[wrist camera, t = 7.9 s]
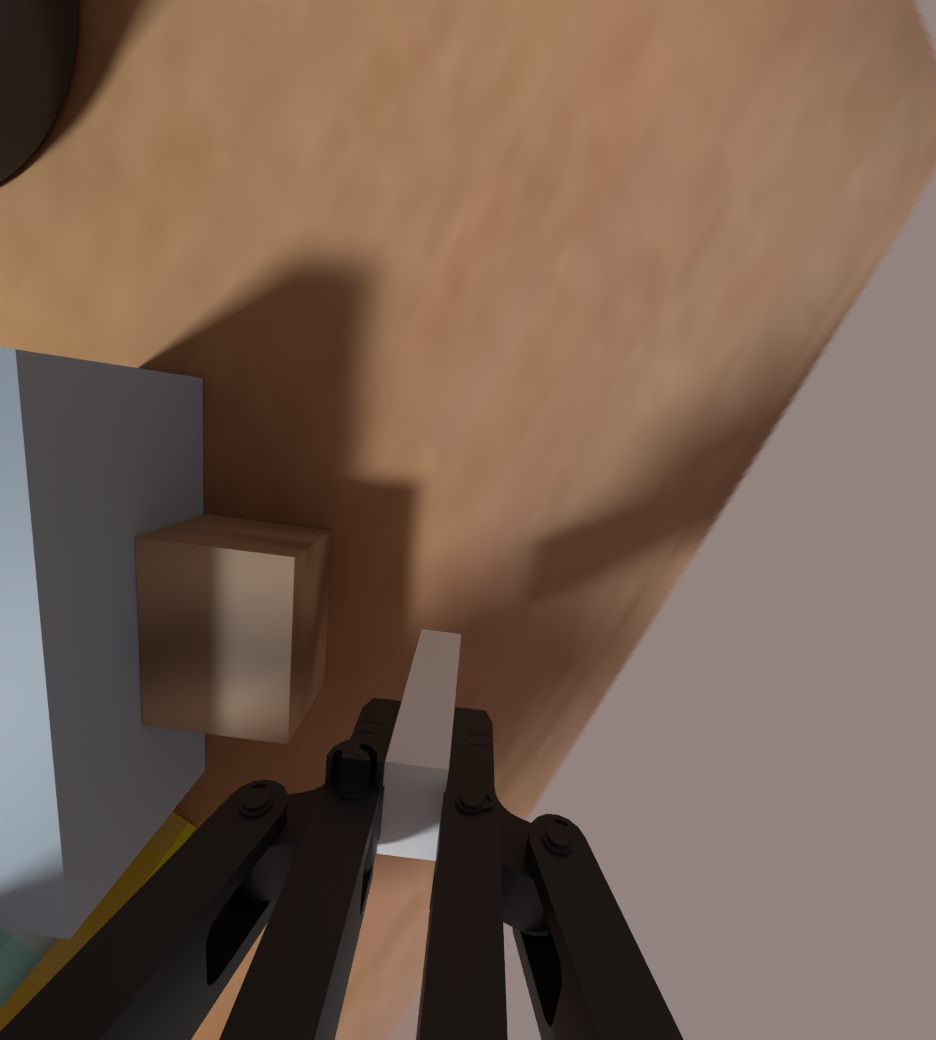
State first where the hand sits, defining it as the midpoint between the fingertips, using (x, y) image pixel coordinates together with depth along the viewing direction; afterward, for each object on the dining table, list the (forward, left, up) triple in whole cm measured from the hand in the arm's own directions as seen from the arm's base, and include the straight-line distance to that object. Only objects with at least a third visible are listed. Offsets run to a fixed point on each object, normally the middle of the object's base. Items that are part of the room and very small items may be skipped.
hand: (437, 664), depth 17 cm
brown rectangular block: (+1, -9, -5) cm, 10 cm away
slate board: (+1, -13, -5) cm, 14 cm away
